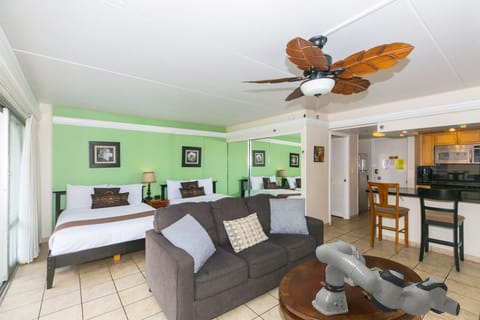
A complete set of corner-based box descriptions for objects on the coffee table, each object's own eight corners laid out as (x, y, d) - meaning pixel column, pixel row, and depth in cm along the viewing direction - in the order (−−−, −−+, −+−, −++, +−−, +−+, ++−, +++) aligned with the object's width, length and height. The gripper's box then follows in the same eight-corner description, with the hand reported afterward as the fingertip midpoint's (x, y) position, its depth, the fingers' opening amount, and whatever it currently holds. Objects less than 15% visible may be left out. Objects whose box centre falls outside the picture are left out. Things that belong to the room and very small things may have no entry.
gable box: (366, 283, 166) (365, 246, 166) (353, 287, 161) (352, 248, 162) (342, 270, 186) (342, 237, 187) (330, 273, 182) (330, 239, 182)
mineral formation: (369, 289, 157) (393, 298, 145) (361, 300, 149) (386, 310, 137) (367, 279, 157) (391, 286, 145) (359, 288, 148) (384, 297, 137)
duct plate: (380, 282, 166) (380, 277, 166) (364, 274, 179) (363, 269, 179) (392, 278, 172) (392, 273, 172) (375, 270, 185) (375, 266, 185)
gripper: (416, 304, 135) (393, 292, 148) (435, 296, 143) (412, 285, 156) (416, 294, 135) (393, 283, 148) (435, 286, 143) (411, 276, 156)
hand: (403, 284), depth 152 cm, fingers open, 8 cm apart
